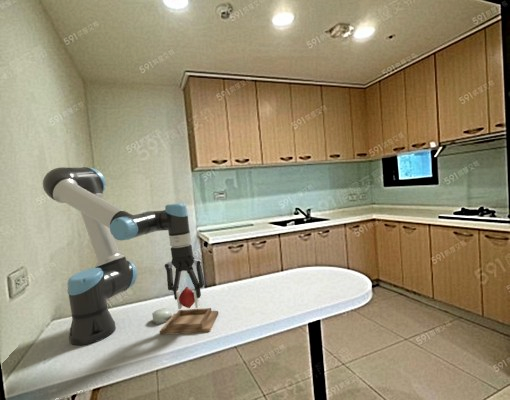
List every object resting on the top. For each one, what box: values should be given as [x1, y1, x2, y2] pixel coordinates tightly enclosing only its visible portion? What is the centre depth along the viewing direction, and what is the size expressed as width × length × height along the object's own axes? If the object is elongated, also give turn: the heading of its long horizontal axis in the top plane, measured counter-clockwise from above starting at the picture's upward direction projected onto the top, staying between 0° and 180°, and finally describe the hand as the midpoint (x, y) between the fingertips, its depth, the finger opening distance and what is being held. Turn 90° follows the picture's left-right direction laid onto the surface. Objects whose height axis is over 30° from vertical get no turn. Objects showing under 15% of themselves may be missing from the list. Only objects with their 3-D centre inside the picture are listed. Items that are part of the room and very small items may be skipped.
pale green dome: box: [152, 307, 173, 325], centre depth 119 cm, size 7×7×3 cm
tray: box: [159, 307, 219, 335], centre depth 113 cm, size 18×14×3 cm
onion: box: [179, 286, 195, 309], centre depth 112 cm, size 6×6×8 cm
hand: (189, 306), depth 112 cm, fingers closed on onion, 6 cm apart
